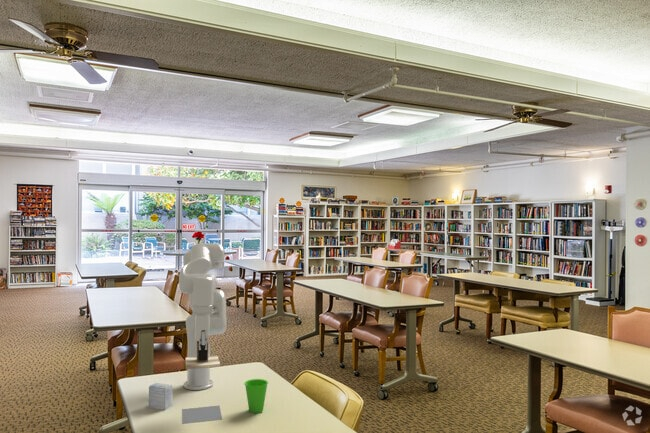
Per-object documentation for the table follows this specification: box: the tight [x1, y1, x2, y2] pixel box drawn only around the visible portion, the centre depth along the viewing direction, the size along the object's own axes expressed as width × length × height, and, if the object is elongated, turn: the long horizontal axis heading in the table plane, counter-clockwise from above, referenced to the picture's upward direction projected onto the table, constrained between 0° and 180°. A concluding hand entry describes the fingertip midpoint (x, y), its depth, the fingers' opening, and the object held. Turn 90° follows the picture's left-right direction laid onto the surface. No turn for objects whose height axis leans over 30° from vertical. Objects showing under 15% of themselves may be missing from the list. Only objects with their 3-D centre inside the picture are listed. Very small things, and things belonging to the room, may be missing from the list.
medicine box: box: [148, 382, 173, 411], centre depth 187 cm, size 8×4×9 cm, turn 71°
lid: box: [185, 340, 221, 370], centre depth 180 cm, size 12×12×8 cm
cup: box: [243, 378, 269, 414], centre depth 183 cm, size 9×9×11 cm
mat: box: [181, 405, 223, 425], centre depth 179 cm, size 14×14×1 cm
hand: (202, 358), depth 180 cm, fingers closed on lid, 4 cm apart
